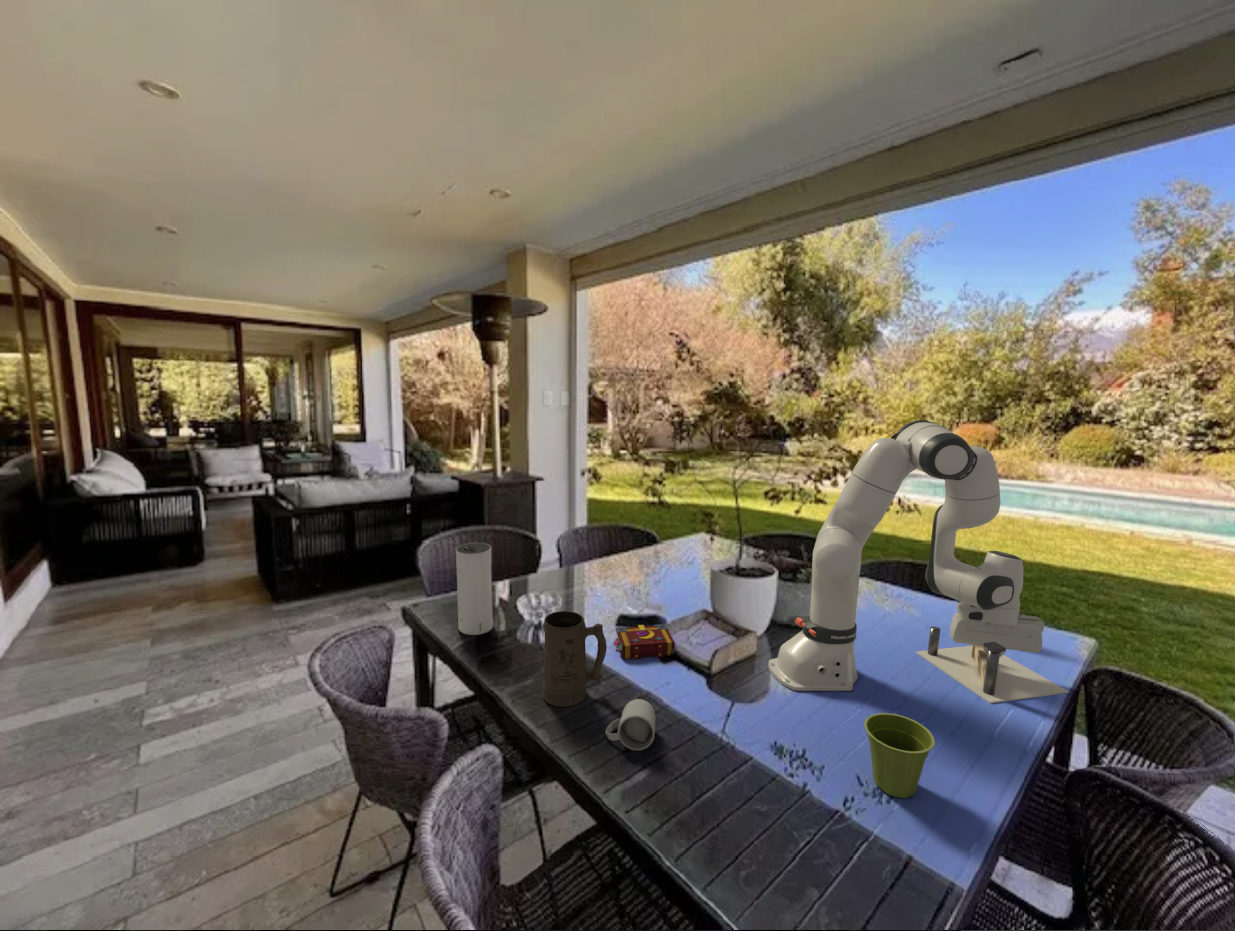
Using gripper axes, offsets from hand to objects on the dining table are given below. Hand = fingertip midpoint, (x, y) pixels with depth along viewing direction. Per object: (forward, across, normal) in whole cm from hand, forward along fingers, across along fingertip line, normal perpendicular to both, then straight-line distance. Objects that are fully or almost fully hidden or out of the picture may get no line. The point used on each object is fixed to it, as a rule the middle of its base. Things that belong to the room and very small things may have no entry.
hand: (991, 661), depth 145 cm
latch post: (+3, +13, -5) cm, 14 cm away
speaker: (+2, +142, +21) cm, 144 cm away
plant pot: (+3, +32, +53) cm, 62 cm away
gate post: (+3, +4, +12) cm, 13 cm away
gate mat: (+3, +1, 0) cm, 3 cm away
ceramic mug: (+3, +83, +56) cm, 100 cm away
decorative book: (+3, +91, +17) cm, 92 cm away
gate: (+2, +3, +2) cm, 4 cm away
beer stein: (+2, +101, +44) cm, 110 cm away
